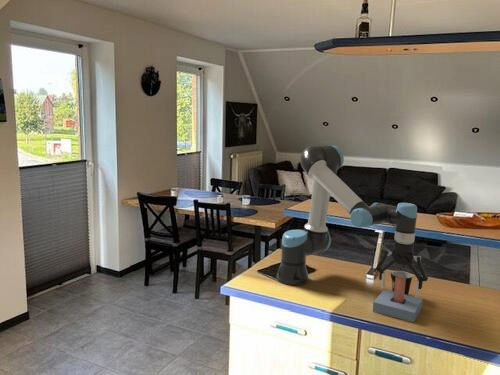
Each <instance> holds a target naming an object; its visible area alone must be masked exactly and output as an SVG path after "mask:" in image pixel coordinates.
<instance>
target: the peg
mask: <svg viewBox="0 0 500 375" xmlns="http://www.w3.org/2000/svg"><path fill="white" fill-rule="evenodd" d="M405 283H406V277H404V276H399V275H398V276H396V277H395V288H394V299H393V302H396V303H400V304H403V303H404V293H405Z"/></svg>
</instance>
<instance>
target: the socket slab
mask: <svg viewBox="0 0 500 375" xmlns="http://www.w3.org/2000/svg"><path fill="white" fill-rule="evenodd" d="M393 299H394V292H393V291H392V290H388V289H385V288H383V289H382V291H381V293H379V295H378V296H377V297H376V298H375V300H373V302H372V312H374V313H377V314H381V315H385V316H387V317H388V316H389V317H392V318H397V319H399V320H403V321H406V322H411V323H415V321H416V319H417V317H418V316H419V314H420V312H421V310H422V308H423V303H424V302H423V300H424V298H421V297H419V296H418V297H415V295H414V296H413V295H409V294H408V295H406V294H404V303H403V304H400V303H396V302H393Z"/></svg>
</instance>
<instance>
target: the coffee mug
mask: <svg viewBox="0 0 500 375" xmlns="http://www.w3.org/2000/svg"><path fill="white" fill-rule="evenodd" d="M398 275H399V276H404V277H406V283H405V293H404V294H406V295H409V292H410V288H411V283H412V280H413V275H412V274H411V273H409V272H407V271H403V270H393V271H392V272H390V278H391V288H392V290H391V291H393V292H394V288H395V277H396V276H398Z"/></svg>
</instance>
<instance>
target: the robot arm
mask: <svg viewBox="0 0 500 375" xmlns="http://www.w3.org/2000/svg"><path fill="white" fill-rule="evenodd" d="M344 160H345V158H344V154H343V152H342V151H341V149H340V148H339V147H338V146H336V145H333V144H331V145H330V144H325V145H323V144H322V145H321V144H320V145H309V146H307V147H306V148H304V149H303V151H302V152H301V154H300V159H299V161H300V167H301V168H302V169H303V171H304V172H305V173H306V175H308V176H309V177H310V178H311V179H313V183H312V184H313V185H312V192H311V199H310V206H309V213H308V219H307V220H308V221H307V223H305V224H304V226H303V229H290V230H287V231H285V232H284V233H283V234H282V238H281V239H282V240H281V253H280V254H281V256H280V257H281V259H280V260H281V262H280V265H279V266H278V270H277V273H276V280H277V279H278V280H277V281H278V282H279V281H280V283H281V284H284V285H290V286H300V285H301V286H302V285H305V284H307V283H308V282H309V273H308V270H307V266H306V263H307V262H306V261H307V260H306V259H307V257H308V256H313V255H316V254H317V255H318V254H321V253H323V252H325V251H327V250H329V248H330V246H331V243H332V237H331V234H330V232H329V228H328V227H327V225H326V224H327V218H328V211H329V205H330V204H329V203H330V197H332V198H333V199H334V200H335V201H337V203H338V204H339V205H340V206H341V207H342V208H343V209H344V210H345V211H346V212H347V213H348V214H349V215H350V218H349V219H350V221H351V224H352V225H353V226H354V227H356V228H368V227H371V226H375V225H380V224H389V225H393V226H395V228H394V242H393V250H391V251H390V249H386V250H385V251H384V253H383V254H384V255H383V257H382V258H381V259H380V260H379V262H378V264H377V265H376V266H375V269H374V270H375V271H377V272H378V273H379V275H378V280H380V281H381V282H380V290H384V289H385V285H386V272H385V271H386V270H388V269H389V268H390V267H391V266H393V265H394V264H395V263H397V265H403V266H407V267H408V268H409V269H410V270H411V272H412V273H413V274H414V276H415V277H416V278H417V280H416V283H415V294H414V297H418V298H419V294H420V293H419V292H420V290H421V289H422V288H423V282H428V280H429V277H428V274H427V271H426V269H425V267H424V264H423V262H422V256H421V255H414V248H415V247H414V246H415V243H414V242H415V238H416V225H417V218H418V206H417V205H416V204H414V203H410V202H399V203H398V204H397V206H394V205H392V204H386V203H383V202H374V203H372V204H371V205H368V204H367V203H366V202H364V201H363V200H362V198H361V197H360V196H358V195H357V194H356V193H355V192H354V191H353V190H352V189H351V188H350V186H348V185H347V184H346V183H345V182H344V181H343V180H342V179H341V178H340V177H339V176H338V170H339V169H340V168H341V167H342V166H343V165H344ZM391 255H392V256H391ZM390 256H391V257H392V258H393V259H391V260H390V261H389V262H388V263H387V264H386V265H384V263H385V262H386V260H387V258H389V257H390ZM413 260H414V261H415V262H416V264H417V266H418V269H419V270H418V269H417V267H416V266H415V264H414V262H413ZM383 265H384V266H383ZM382 266H383V267H382Z"/></svg>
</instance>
